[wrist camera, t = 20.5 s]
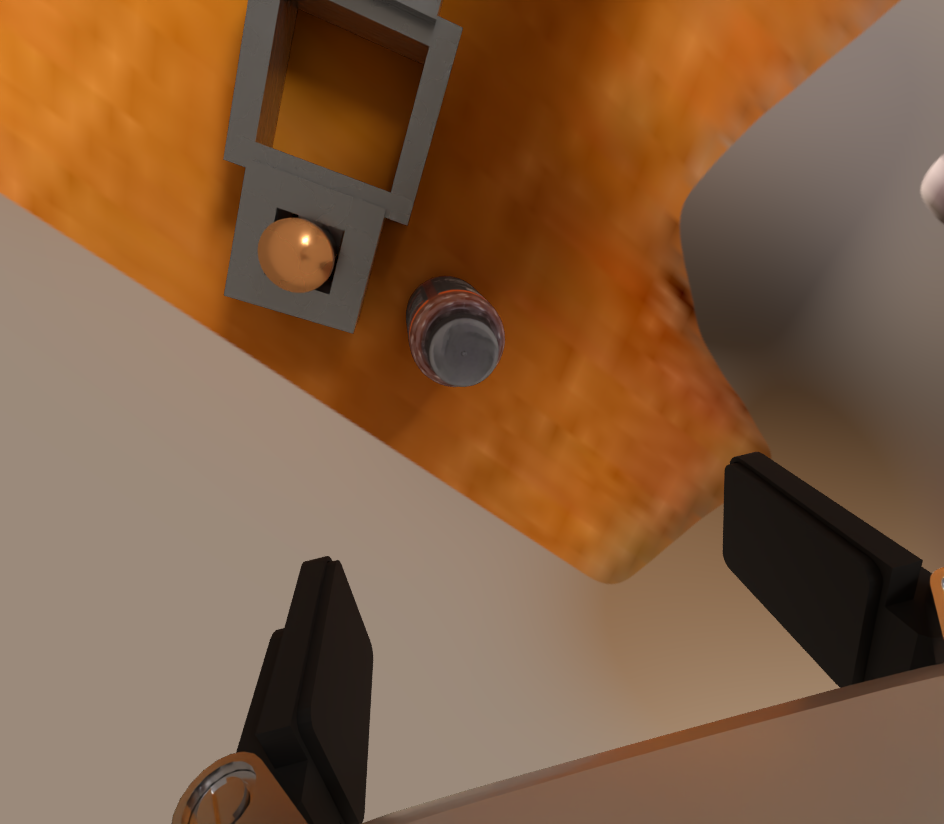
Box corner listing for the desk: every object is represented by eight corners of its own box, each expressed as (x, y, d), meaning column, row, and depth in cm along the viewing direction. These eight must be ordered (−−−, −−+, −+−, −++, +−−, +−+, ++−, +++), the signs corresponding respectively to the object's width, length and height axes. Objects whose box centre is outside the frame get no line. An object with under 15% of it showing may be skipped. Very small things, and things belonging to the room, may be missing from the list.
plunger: (290, 207, 32) (265, 207, 26) (350, 228, 33) (339, 232, 27) (277, 267, 33) (251, 279, 27) (336, 286, 34) (323, 301, 28)
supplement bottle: (409, 355, 38) (413, 408, 28) (401, 277, 36) (403, 303, 26) (484, 349, 39) (516, 399, 29) (481, 271, 37) (514, 295, 26)
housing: (305, -200, 26) (285, -287, 21) (495, -94, 29) (513, -152, 24) (224, 277, 34) (197, 287, 30) (378, 324, 37) (375, 340, 32)
